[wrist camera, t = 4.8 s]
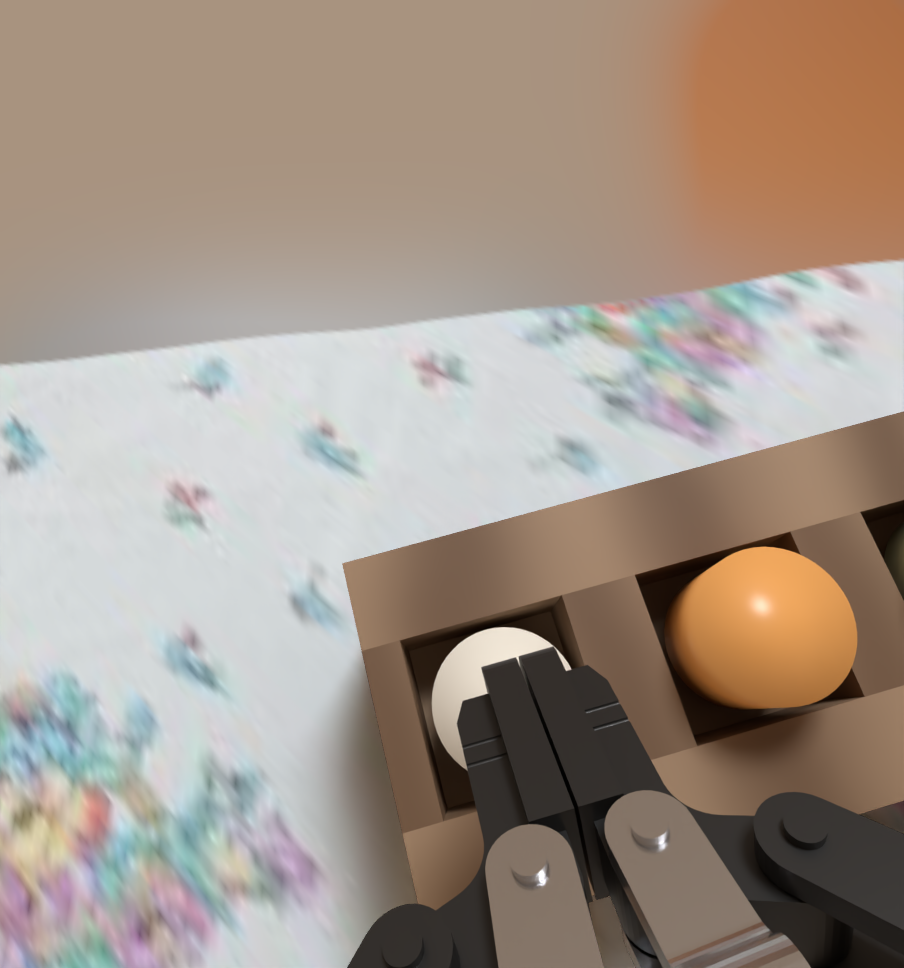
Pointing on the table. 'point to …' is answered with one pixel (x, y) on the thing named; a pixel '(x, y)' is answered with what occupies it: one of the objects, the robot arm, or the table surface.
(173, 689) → the table surface
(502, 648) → the cream egg
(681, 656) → the orange egg
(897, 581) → the sage egg
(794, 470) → the wooden egg holder
